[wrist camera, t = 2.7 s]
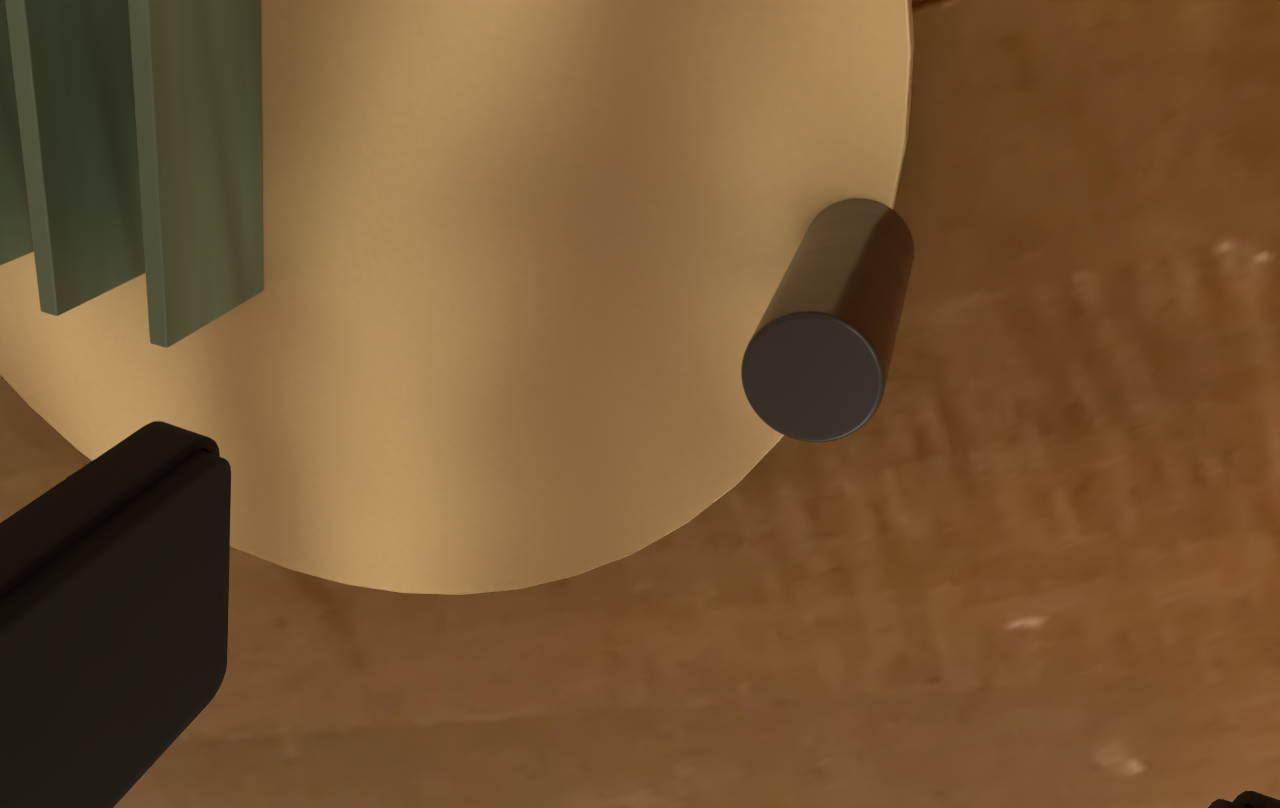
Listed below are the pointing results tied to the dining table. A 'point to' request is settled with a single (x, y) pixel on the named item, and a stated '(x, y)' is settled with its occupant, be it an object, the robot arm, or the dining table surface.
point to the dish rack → (455, 258)
